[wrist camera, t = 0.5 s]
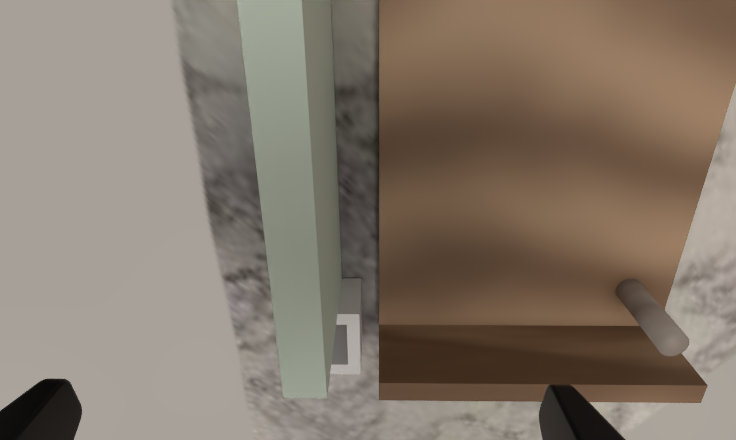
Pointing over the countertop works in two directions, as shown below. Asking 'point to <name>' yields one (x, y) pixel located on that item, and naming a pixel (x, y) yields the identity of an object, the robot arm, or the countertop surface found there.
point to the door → (300, 190)
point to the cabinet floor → (542, 192)
